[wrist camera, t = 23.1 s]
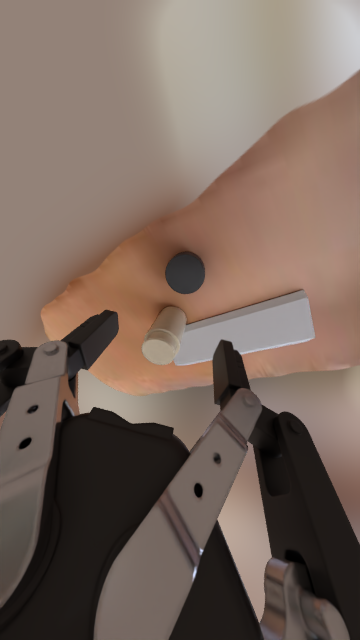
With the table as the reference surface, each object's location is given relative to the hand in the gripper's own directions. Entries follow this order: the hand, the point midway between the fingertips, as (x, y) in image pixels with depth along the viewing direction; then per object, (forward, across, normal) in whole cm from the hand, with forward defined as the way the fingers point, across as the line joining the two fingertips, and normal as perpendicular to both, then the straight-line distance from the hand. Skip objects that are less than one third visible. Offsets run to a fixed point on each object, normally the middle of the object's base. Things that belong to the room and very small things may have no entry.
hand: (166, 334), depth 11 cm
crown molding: (+19, -12, +12) cm, 26 cm away
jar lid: (+16, +1, 0) cm, 16 cm away
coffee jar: (+18, +1, +11) cm, 21 cm away
